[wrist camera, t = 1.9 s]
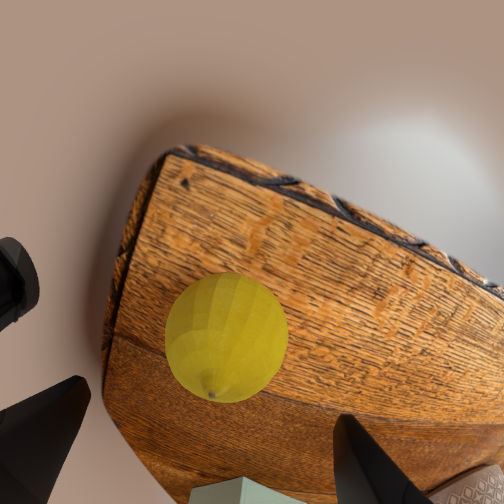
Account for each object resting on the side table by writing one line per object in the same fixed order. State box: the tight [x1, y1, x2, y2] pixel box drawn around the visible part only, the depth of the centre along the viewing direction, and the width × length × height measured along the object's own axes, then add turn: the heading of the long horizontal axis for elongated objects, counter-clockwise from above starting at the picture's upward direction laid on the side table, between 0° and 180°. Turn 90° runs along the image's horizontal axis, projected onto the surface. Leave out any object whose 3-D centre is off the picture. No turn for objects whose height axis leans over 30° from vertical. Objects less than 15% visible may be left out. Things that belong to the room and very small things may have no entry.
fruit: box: [165, 272, 289, 403], centre depth 13 cm, size 6×6×8 cm
